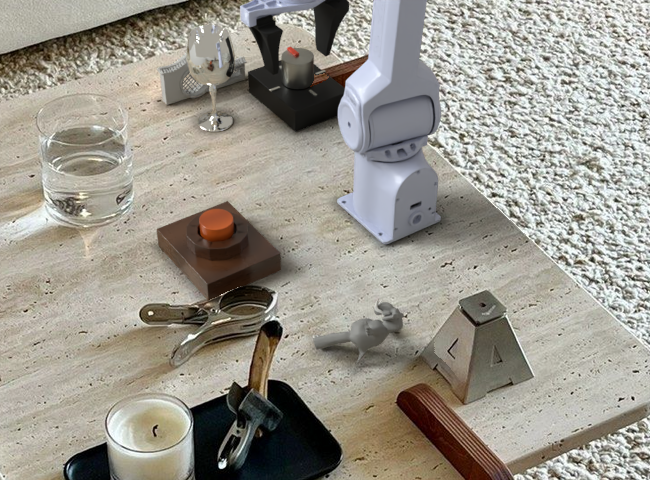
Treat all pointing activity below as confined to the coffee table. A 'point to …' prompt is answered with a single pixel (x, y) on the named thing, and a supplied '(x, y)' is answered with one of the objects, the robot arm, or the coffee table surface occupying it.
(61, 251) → the coffee table surface
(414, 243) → the coffee table surface
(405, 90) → the robot arm
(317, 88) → the dial panel
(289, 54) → the dial
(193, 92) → the lattice window wall
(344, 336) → the grey bird figurine
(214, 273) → the button block
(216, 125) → the wineglass
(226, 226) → the button
